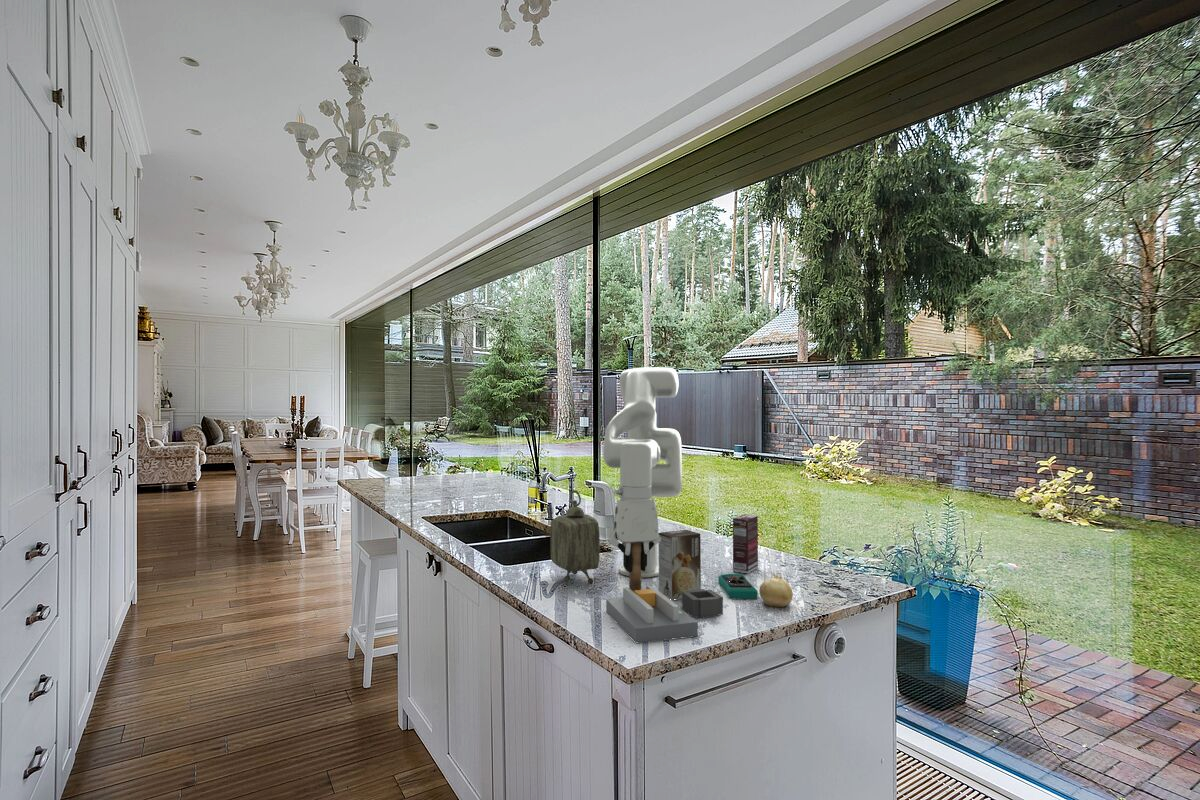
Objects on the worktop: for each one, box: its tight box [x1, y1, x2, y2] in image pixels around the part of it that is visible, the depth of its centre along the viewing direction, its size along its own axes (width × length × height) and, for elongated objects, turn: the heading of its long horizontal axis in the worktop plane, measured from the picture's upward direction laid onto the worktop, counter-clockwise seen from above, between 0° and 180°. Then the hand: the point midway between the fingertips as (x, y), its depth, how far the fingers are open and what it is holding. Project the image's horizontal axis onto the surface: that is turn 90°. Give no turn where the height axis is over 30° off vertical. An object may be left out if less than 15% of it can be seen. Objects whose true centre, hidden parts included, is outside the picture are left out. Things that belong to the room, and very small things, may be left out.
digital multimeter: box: [717, 573, 759, 600], centre depth 163 cm, size 7×15×3 cm, turn 0°
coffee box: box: [658, 529, 702, 601], centre depth 159 cm, size 9×6×16 cm
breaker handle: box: [634, 588, 655, 606], centre depth 141 cm, size 3×4×3 cm
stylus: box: [628, 542, 642, 592], centre depth 147 cm, size 3×3×14 cm
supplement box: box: [732, 514, 759, 575], centre depth 183 cm, size 9×5×16 cm, turn 144°
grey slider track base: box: [605, 584, 699, 643], centre depth 138 cm, size 20×14×6 cm
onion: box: [758, 573, 794, 608], centre depth 152 cm, size 8×8×7 cm
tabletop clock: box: [549, 489, 601, 585], centre depth 171 cm, size 14×9×25 cm, turn 26°
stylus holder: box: [681, 588, 724, 619], centre depth 146 cm, size 8×8×4 cm
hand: (635, 569), depth 147 cm, fingers closed on stylus, 2 cm apart
